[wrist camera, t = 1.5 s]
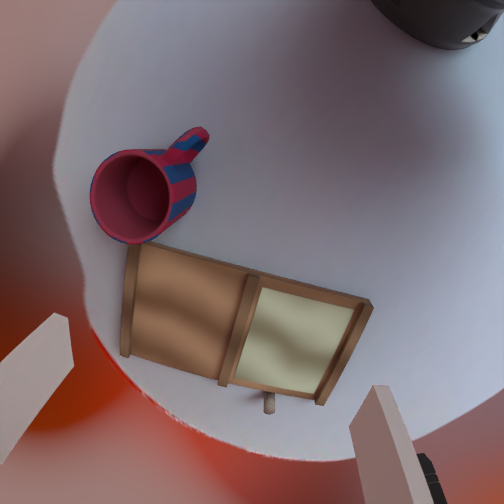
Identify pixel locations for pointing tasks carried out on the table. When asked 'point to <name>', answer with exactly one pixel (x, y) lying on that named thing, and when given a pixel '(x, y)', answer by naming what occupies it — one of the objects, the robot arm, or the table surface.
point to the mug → (146, 188)
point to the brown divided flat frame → (237, 323)
